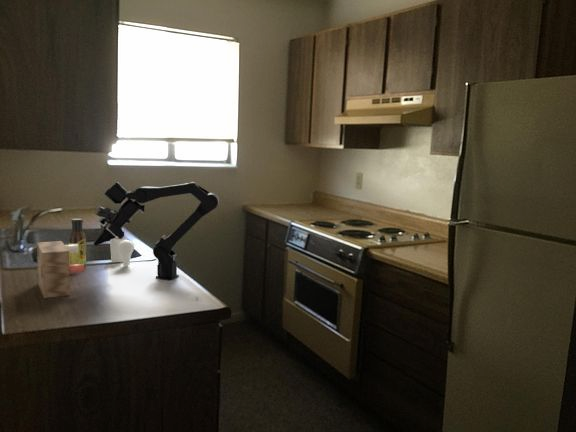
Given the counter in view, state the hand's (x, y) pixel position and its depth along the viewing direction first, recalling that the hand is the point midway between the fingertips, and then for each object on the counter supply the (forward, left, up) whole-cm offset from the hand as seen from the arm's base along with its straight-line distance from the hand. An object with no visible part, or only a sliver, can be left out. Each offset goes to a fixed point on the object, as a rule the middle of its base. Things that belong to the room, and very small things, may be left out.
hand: (94, 244), depth 194 cm
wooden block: (+4, +15, -13) cm, 21 cm away
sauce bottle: (+18, -10, -14) cm, 24 cm away
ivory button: (+6, +7, -2) cm, 10 cm away
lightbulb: (+4, -22, -14) cm, 26 cm away
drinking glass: (+13, -28, -14) cm, 34 cm away
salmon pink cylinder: (-4, +15, -7) cm, 17 cm away
